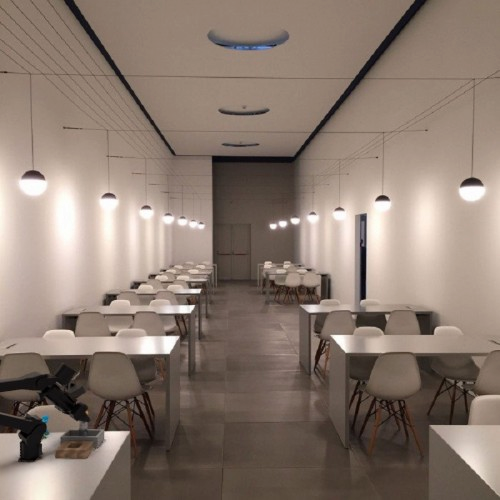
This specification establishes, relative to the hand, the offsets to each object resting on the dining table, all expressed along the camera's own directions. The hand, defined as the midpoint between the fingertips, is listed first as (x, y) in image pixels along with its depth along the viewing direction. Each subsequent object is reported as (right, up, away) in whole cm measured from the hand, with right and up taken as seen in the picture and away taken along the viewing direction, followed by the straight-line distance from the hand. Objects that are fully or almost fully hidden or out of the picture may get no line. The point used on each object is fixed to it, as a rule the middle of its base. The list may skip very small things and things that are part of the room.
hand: (86, 419), depth 198 cm
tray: (-1, -9, -1) cm, 9 cm away
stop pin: (-1, -8, -1) cm, 8 cm away
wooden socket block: (-1, -9, -10) cm, 14 cm away
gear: (-21, -9, +8) cm, 24 cm away
